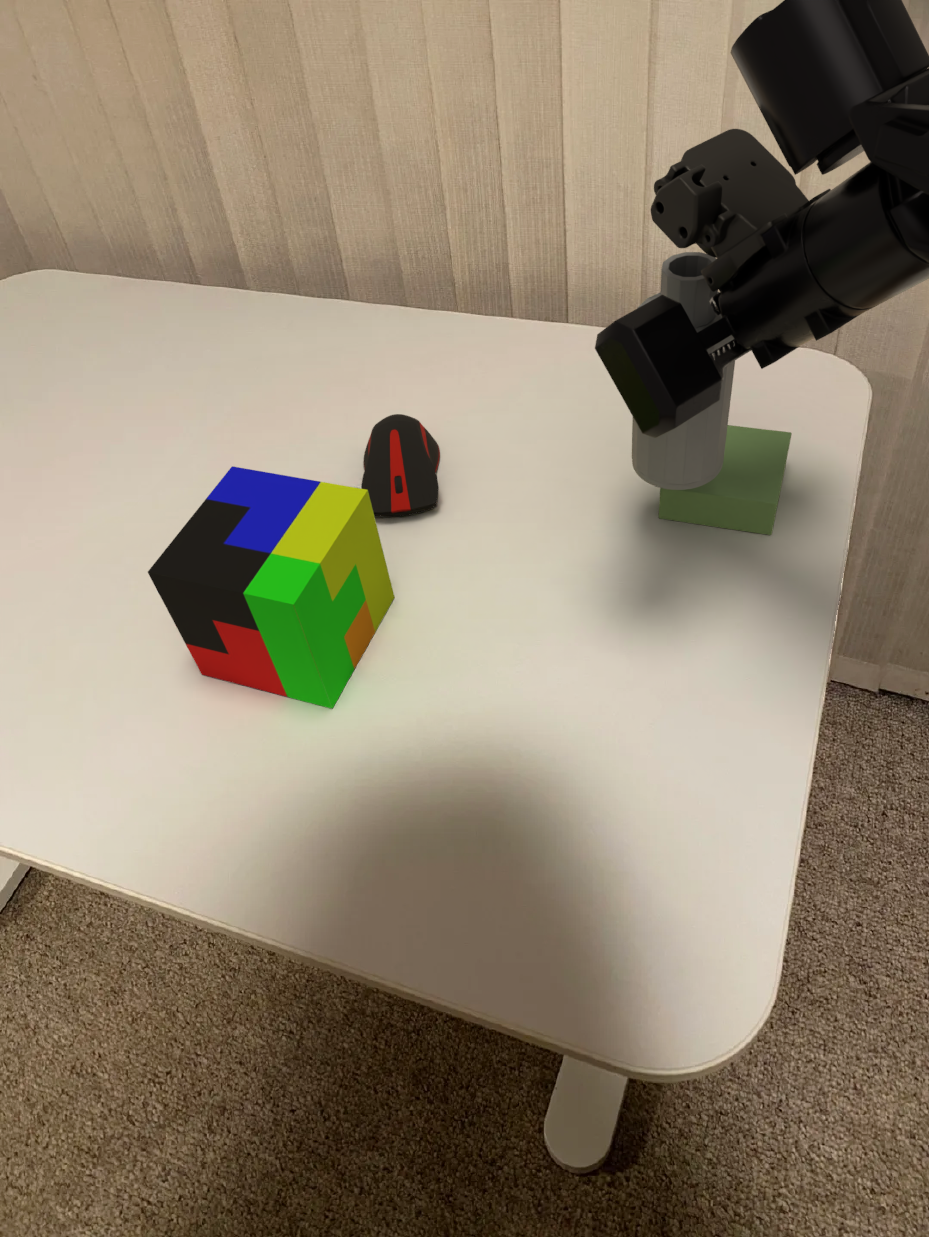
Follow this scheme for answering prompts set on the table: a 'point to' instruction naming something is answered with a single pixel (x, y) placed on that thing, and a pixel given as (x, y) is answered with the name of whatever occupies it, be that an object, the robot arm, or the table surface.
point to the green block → (736, 485)
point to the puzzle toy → (277, 583)
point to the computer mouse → (401, 467)
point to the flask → (700, 440)
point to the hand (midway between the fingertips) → (668, 363)
